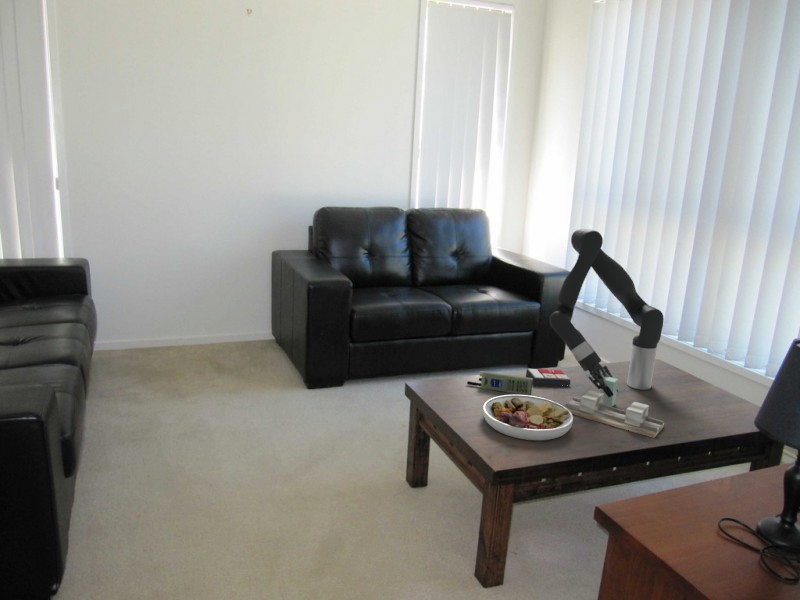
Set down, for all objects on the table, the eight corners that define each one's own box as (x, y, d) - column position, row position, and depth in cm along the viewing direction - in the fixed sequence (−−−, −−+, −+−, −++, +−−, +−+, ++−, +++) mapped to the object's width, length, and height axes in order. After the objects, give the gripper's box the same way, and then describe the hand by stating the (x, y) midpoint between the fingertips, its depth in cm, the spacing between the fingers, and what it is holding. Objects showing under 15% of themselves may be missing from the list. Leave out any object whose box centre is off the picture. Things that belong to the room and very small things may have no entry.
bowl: (497, 401, 235) (499, 381, 233) (579, 418, 222) (581, 398, 220) (469, 431, 208) (471, 408, 207) (560, 453, 196) (563, 429, 194)
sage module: (603, 401, 239) (606, 376, 236) (615, 404, 236) (618, 379, 234) (599, 404, 235) (602, 379, 233) (611, 407, 232) (614, 382, 230)
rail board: (575, 401, 237) (577, 385, 235) (664, 426, 218) (666, 408, 217) (562, 411, 227) (564, 393, 226) (654, 437, 209) (657, 419, 207)
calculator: (571, 378, 252) (535, 376, 250) (569, 388, 253) (533, 386, 251) (561, 369, 262) (526, 367, 260) (560, 379, 263) (525, 377, 261)
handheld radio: (530, 396, 240) (466, 387, 247) (531, 394, 244) (467, 384, 250) (532, 380, 239) (467, 370, 246) (533, 377, 242) (469, 368, 249)
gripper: (586, 355, 230) (615, 394, 226) (600, 346, 241) (628, 384, 237) (571, 365, 234) (599, 404, 230) (585, 356, 245) (612, 393, 241)
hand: (613, 394), depth 233 cm, fingers closed on sage module, 4 cm apart
